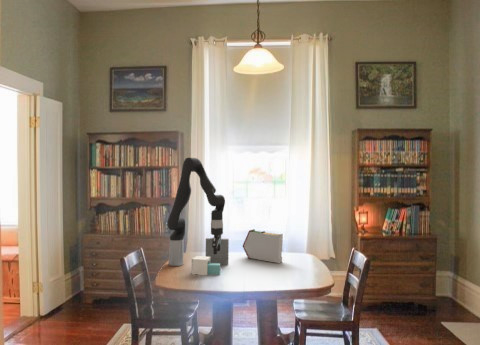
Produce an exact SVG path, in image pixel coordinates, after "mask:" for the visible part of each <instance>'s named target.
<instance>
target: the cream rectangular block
mask: <svg viewBox="0 0 480 345" xmlns="http://www.w3.org/2000/svg"><path fill="white" fill-rule="evenodd" d="M207 263H210V257H206V255H203V256H202V255H201V256H200V255H195V256H194V257H192V258H191V275H195V274H198V276H208V274H207Z"/></svg>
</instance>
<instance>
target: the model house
mask: <svg viewBox="0 0 480 345" xmlns="http://www.w3.org/2000/svg"><path fill="white" fill-rule="evenodd" d="M283 240H284V239H283V233H272V232H266V231H260V230H259V231H256V230H255V229H249V231H248V232H247V235H246V237H245V239H244V241H243V244H242V248H243V250H244V252H245V254H246V257H247V259H249V260H251V259H255V260H259V261H266V262H270V263H276V264H278V263H279V264H280V262H281V263H283V256H282V253H283Z"/></svg>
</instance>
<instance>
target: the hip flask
mask: <svg viewBox="0 0 480 345" xmlns="http://www.w3.org/2000/svg"><path fill="white" fill-rule="evenodd" d="M212 238H213V237H210V238H209V237H207V238H205V257H210V263H220V266H229V247H230V246H229V238H221V245H220V251H217V254H213V248H212ZM214 246H215V245H214Z"/></svg>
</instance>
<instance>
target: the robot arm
mask: <svg viewBox="0 0 480 345" xmlns="http://www.w3.org/2000/svg"><path fill="white" fill-rule="evenodd" d="M181 169H182V170H181V175H180V180H179V184H178V187H177V190H176V194H175V199H174V202H173V206H172V208H171V212H170V214H169V216H168V219H167V227H168V229H169V230H170V231H173V232H172V233H171V234H170V236H169V251H168V266H172V267H178V266H179V267H180V266H183V265H184V238H185V234H186V220H185V218H184V216H183V215H181V214H182V211H183V210H184V209H185V207H186V206H187V204H188V203H189V200H190V198H191V194H192V186H191V183H190V178H191V173H192V172H193V173H194V172H195V174H197V176H198V177H199V183H200V187H201V189H202V190H203V192H204V193H205V196H206V198H207V202H208V205H210V206H211V207H215V208H214V209H213V210H211V213H210V214H211V216H210V217H211V220H210V235H213V237H211V238H212V248H213V254H217V251H220V245H221V239H222V235H223V234H224V222H223V212H224V208H225V205H226V199H225V197H224V195H223V194H215V193H216V192H217V189H216V187H215V185H214V184H213V183H212V181H211V179H210V178H209V176H208V174H207V172H206V170H205V168H204V165H203V163H202V161H201V159H200V158H197V157H186V158H185V159H184V161H183V163H182V168H181ZM214 245H215V246H214Z"/></svg>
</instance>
